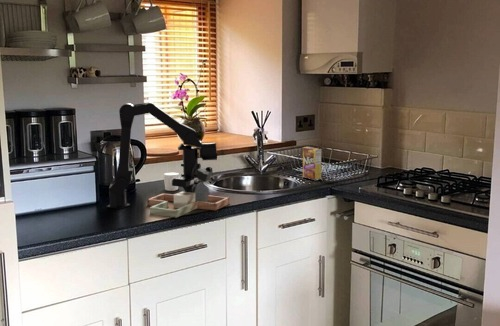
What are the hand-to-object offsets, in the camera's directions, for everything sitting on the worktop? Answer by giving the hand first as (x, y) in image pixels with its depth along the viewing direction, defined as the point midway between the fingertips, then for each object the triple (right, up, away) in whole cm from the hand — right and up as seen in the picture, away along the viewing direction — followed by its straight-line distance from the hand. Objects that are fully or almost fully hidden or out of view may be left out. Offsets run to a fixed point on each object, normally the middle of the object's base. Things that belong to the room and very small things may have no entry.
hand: (191, 199), depth 222 cm
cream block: (-2, -2, -4) cm, 5 cm away
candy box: (+52, +6, +43) cm, 68 cm away
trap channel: (-3, -3, -6) cm, 7 cm away
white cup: (-11, +3, +25) cm, 28 cm away
